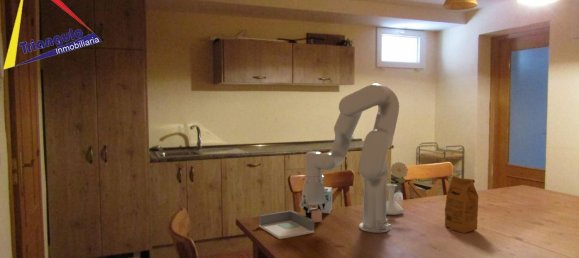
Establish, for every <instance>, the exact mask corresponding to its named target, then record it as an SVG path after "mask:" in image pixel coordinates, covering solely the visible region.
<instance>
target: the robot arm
mask: <svg viewBox="0 0 579 258" xmlns="http://www.w3.org/2000/svg"><path fill="white" fill-rule="evenodd" d="M376 106H377V108H378V110H377V114H376V116H375V120H374V125H373V129H372V130H370V131H369V132H368V133H367V134H366V136H365V139H364V142H363V145H362V147H361V149H362V150H361V153H360V158H359V162H358V172H359V174H360V175H361V177H362V178H363V193H362V195H363V197H362V198H363V199H362V204H363V205H362V206H363V207H362V208H363V209H362V222H361V223H359V225H358V227H359V229H360V230H362V231H364V232H367V233H374V234H382V233H387V232H389V231H390V230H391V228H392V227H393V225H392V224H390V223H388V222H389V220H388V219H387V214H386V204H387V201H388V199H387V197H388V195H387V194H388V192H387V191H388V187H387V184H388V179H387V178H388V175H389V163H388V160H387V158H386V157H387V153H388V150H389V149H390V148H391V147H392V145H393V141H394V136H395V131H396V127H397V122H398V118H399V112H400V102H399V99H398V96H397V95H396V93H395V92H394V91H393V90H392V89H391V88H389V87H388V86H386V85H384V84H381V83H372V84H369V85H366V86H365V87H363V88H360V89H358V90H356V91H354V92H352V93H349V94H348V95H345V96H344V97H342V98H341V99H340V101H339V103H338V110H339V112H340V113H339V115H338V117H337V119H336V122H335V124H334V126H333V132H334V140H333V143H332V146H331V147H330V148H331V149H330V150H329V151H328V152H324V153H322V152H321V151H314V150H313V151H307V152H306V153H305V181H304V182H303V185H302V192H301V201H300V203H299V204H298V206H299V208H301V209H302V210H304V212H305V216H306V217H308V218H310V219H311V212H310V209H311V208H312V206H316V208H318V209H320V210H323V208H324V207H325V205H326V204H327V203H328V200H327V199H326V198H325V188H324V187H325V183H324V181H323V180H324V179H325V175H323V171H332V170H335V169H336V168H338V167H340V166H341V165H343V162H344V160H345V158H346V157H347V154H348V151H349V149H350V145H351V143H352V139H353V136H354V135H353V134H354V133H355V130H356V129H357V125H358V123H359V121H360V118H361V117H362V114H363V112H365V111H367V110H369V109H371V108H373V107H376Z"/></svg>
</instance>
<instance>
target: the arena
mask: <svg viewBox="0 0 579 258" xmlns="http://www.w3.org/2000/svg"><path fill="white" fill-rule="evenodd" d="M258 217H259V218H258V219H259V222H258V224H259V226H258V227H259V228H260V229H262V230H263V231H266V232H267V233H269V234H270V235H271V236H273V237H275V238H277V239H279V240H282V239H288V238H293V237H298V236H302V235H308V234H314V233H315V223H314V220H312V219H310V218H308V217H306V215H303V214H301V213H299V212H296V211H295V210H293V209H291V210H285V211H278V212H271V213H270V212H269V213H266V214H259V215H258Z"/></svg>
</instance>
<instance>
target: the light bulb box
mask: <svg viewBox="0 0 579 258" xmlns="http://www.w3.org/2000/svg"><path fill="white" fill-rule="evenodd" d="M324 188H325V198H326V199H327V200H328V203H327V204H326V205H325V207H324V208H323V210H322V214H331V211H332V209H333V187H329V186H324ZM316 208H317V207H316ZM317 209H318V208H317Z"/></svg>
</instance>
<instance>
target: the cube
mask: <svg viewBox="0 0 579 258" xmlns="http://www.w3.org/2000/svg"><path fill="white" fill-rule="evenodd" d="M310 212H311V219H312V220H314V224H315V223H320V222H322V220H323V219H322V217H323V213H322V210H320V209H317V207H311V209H310Z"/></svg>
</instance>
